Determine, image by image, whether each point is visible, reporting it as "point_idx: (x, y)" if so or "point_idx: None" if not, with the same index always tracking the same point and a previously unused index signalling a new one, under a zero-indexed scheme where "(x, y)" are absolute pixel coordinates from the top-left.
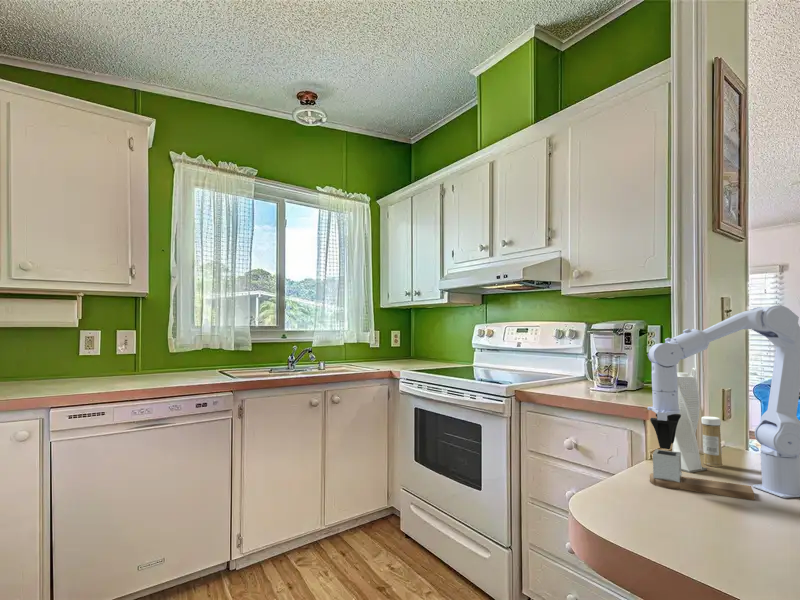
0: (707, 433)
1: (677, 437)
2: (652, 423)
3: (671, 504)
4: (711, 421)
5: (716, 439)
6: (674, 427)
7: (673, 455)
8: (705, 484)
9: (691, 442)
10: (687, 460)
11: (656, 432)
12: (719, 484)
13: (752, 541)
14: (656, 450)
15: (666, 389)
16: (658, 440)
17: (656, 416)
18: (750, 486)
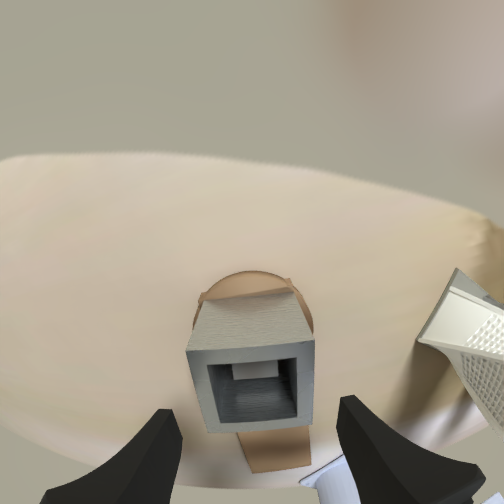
0: None
1: (497, 360)
2: (52, 491)
3: (78, 351)
4: None
5: None
6: (362, 496)
7: (295, 397)
8: None
9: (480, 387)
10: (443, 349)
11: (104, 463)
12: (279, 435)
13: (51, 432)
14: (282, 350)
15: None
16: (138, 433)
17: (415, 499)
18: (306, 465)
